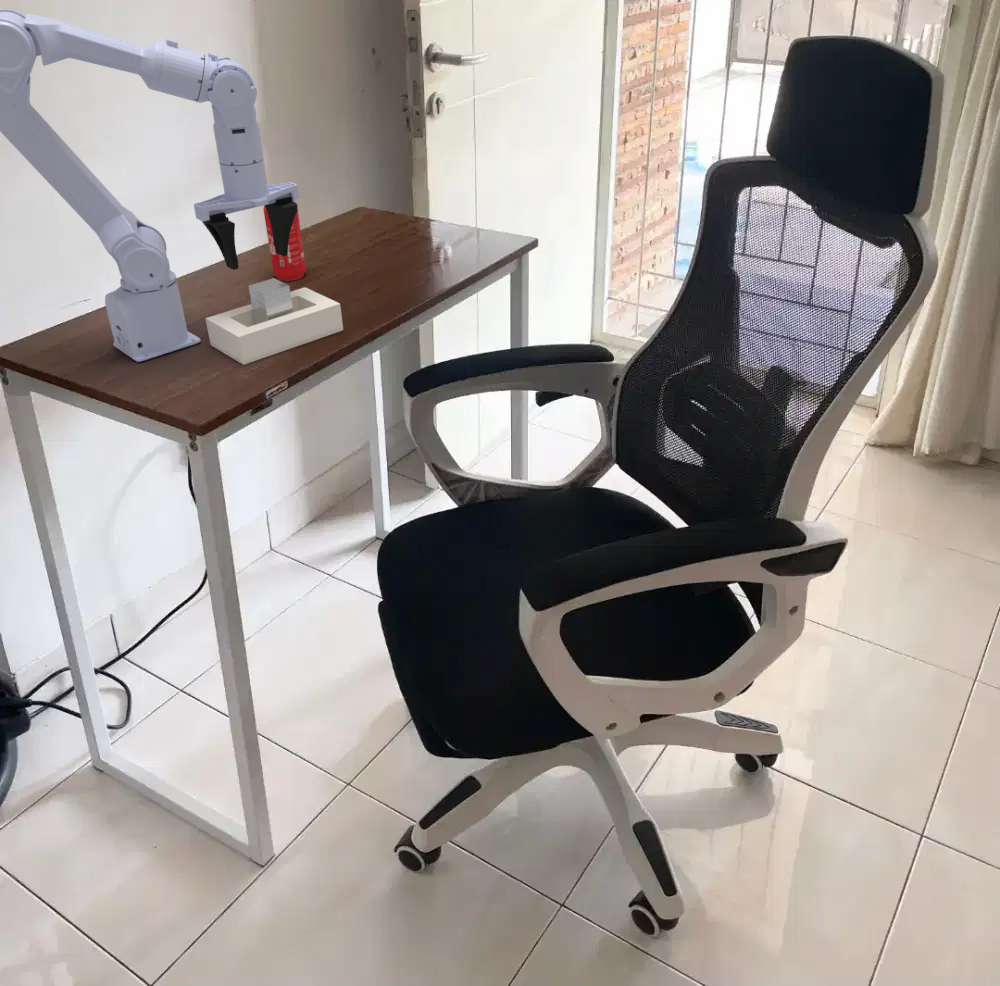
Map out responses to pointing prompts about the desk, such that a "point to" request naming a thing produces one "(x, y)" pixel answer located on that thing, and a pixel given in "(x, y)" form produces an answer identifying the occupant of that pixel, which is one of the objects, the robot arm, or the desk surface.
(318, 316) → the cream rectangular tray
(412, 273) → the desk surface
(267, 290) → the grey rectangular block
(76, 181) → the robot arm
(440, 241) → the desk surface
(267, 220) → the beverage can
